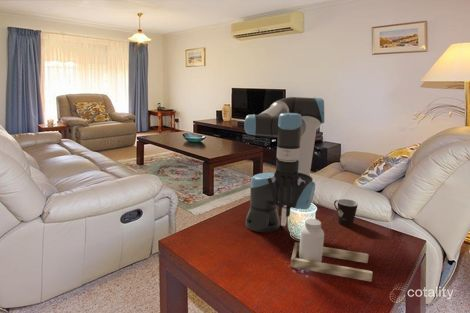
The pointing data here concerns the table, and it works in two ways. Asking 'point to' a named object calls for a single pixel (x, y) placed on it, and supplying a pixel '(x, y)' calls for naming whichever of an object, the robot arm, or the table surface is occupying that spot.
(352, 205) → the coffee mug
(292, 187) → the robot arm
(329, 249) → the cradle
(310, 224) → the pill bottle
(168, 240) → the table surface
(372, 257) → the table surface
